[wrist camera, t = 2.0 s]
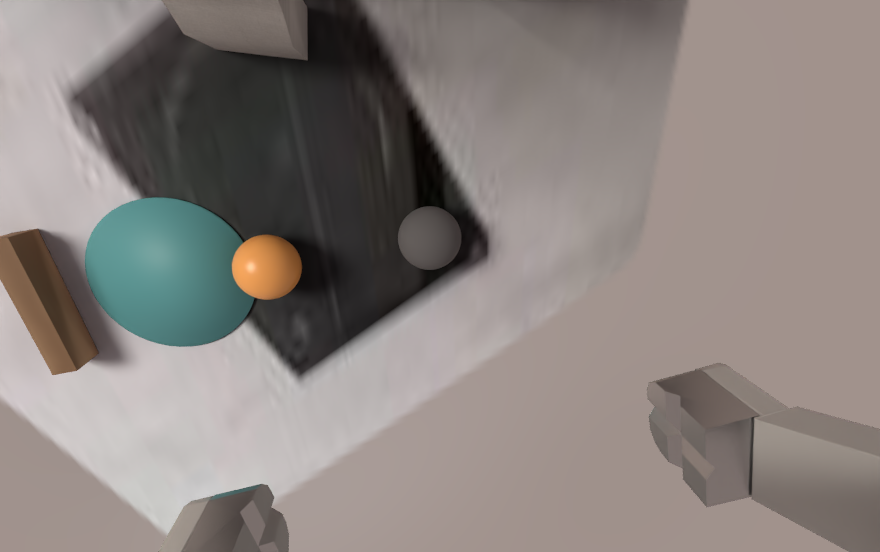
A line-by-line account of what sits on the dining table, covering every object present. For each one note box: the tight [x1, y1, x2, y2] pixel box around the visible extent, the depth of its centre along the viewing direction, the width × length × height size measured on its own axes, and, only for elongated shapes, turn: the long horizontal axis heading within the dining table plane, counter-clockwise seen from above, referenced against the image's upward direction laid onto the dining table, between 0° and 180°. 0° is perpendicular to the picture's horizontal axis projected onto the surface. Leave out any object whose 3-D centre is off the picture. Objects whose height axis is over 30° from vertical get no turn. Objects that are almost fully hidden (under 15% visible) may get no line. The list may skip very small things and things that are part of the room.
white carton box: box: [162, 0, 308, 60], centre depth 28 cm, size 4×7×10 cm, turn 85°
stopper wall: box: [0, 229, 99, 375], centre depth 36 cm, size 2×12×3 cm, turn 8°
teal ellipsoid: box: [85, 197, 255, 347], centre depth 38 cm, size 14×14×1 cm
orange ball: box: [232, 235, 302, 300], centre depth 36 cm, size 6×6×6 cm
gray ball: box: [398, 206, 461, 270], centre depth 37 cm, size 6×6×6 cm
